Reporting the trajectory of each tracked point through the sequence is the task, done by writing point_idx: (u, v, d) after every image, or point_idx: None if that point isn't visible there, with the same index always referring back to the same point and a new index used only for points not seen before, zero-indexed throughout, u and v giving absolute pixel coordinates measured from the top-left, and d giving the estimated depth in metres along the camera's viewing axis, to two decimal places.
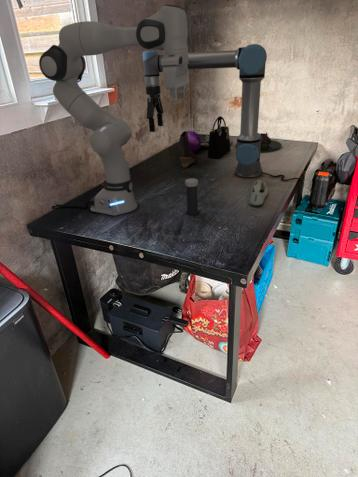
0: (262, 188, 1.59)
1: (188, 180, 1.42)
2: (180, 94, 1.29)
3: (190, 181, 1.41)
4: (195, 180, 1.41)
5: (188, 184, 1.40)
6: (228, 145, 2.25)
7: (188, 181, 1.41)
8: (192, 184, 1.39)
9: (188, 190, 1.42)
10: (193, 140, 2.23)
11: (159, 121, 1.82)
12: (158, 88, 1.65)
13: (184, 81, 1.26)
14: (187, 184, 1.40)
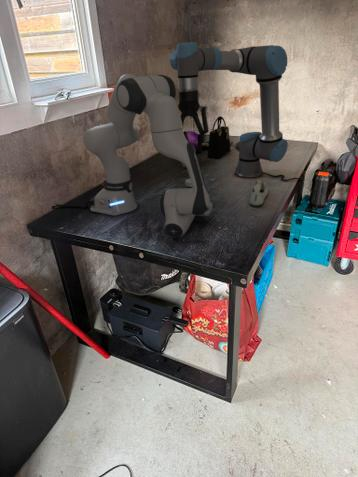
0: (262, 188, 1.59)
1: (188, 180, 1.42)
2: None
3: (190, 181, 1.41)
4: None
5: (188, 184, 1.40)
6: (228, 145, 2.25)
7: (188, 181, 1.41)
8: None
9: None
10: (193, 140, 2.23)
11: None
12: (181, 94, 1.22)
13: None
14: (187, 184, 1.40)
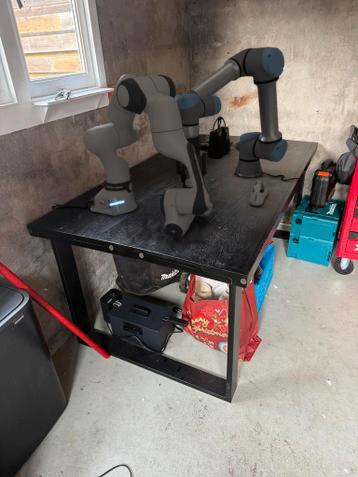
0: (262, 188, 1.59)
1: (188, 180, 1.42)
2: None
3: (190, 181, 1.41)
4: None
5: (188, 184, 1.40)
6: (228, 145, 2.25)
7: (188, 181, 1.41)
8: None
9: None
10: None
11: None
12: None
13: None
14: (187, 184, 1.40)
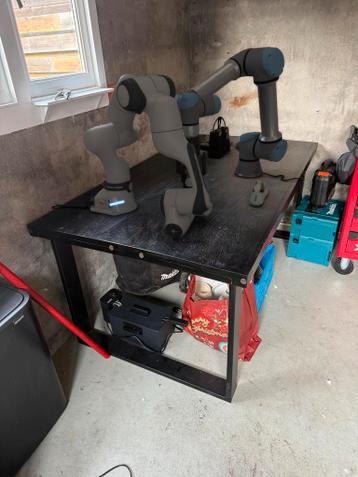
0: (262, 188, 1.59)
1: None
2: None
3: None
4: (189, 179, 1.43)
5: None
6: (228, 145, 2.25)
7: None
8: None
9: None
10: None
11: None
12: None
13: None
14: None
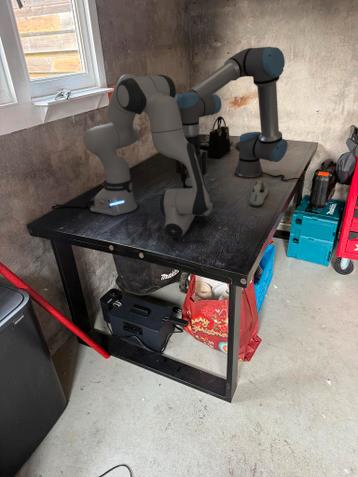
0: (262, 188, 1.59)
1: None
2: None
3: None
4: (189, 180, 1.40)
5: None
6: (228, 145, 2.25)
7: None
8: None
9: None
10: None
11: None
12: None
13: None
14: None
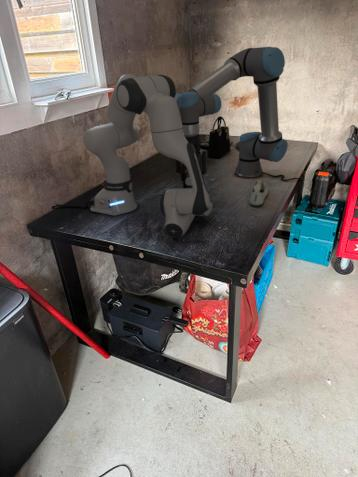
0: (262, 188, 1.59)
1: (188, 178, 1.42)
2: None
3: (189, 180, 1.41)
4: None
5: (186, 182, 1.40)
6: (228, 145, 2.25)
7: (188, 179, 1.41)
8: (190, 182, 1.39)
9: None
10: None
11: None
12: None
13: None
14: (186, 182, 1.41)
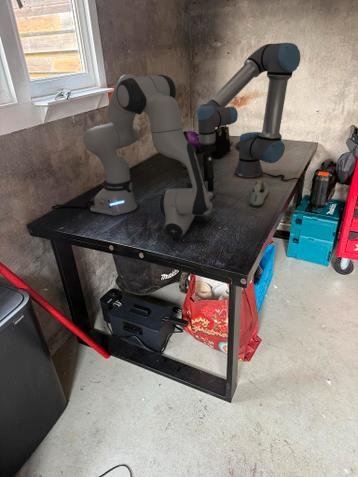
0: (262, 188, 1.59)
1: None
2: None
3: (209, 194, 1.63)
4: None
5: (212, 196, 1.62)
6: (228, 145, 2.25)
7: (209, 194, 1.62)
8: None
9: None
10: (193, 140, 2.23)
11: (206, 176, 1.65)
12: (215, 145, 1.50)
13: None
14: (211, 196, 1.62)
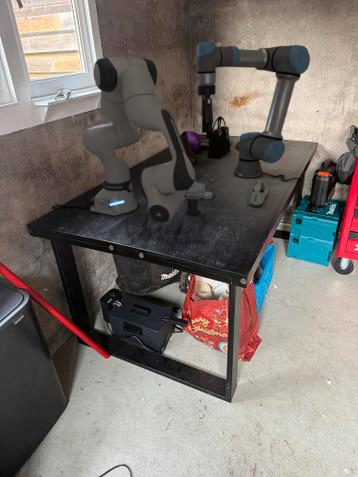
0: (262, 188, 1.59)
1: (206, 194, 1.62)
2: None
3: (209, 194, 1.63)
4: (206, 192, 1.64)
5: (212, 196, 1.62)
6: (228, 145, 2.25)
7: (209, 194, 1.62)
8: None
9: None
10: (193, 140, 2.23)
11: (204, 127, 1.53)
12: (215, 87, 1.38)
13: None
14: (211, 196, 1.62)
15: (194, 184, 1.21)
